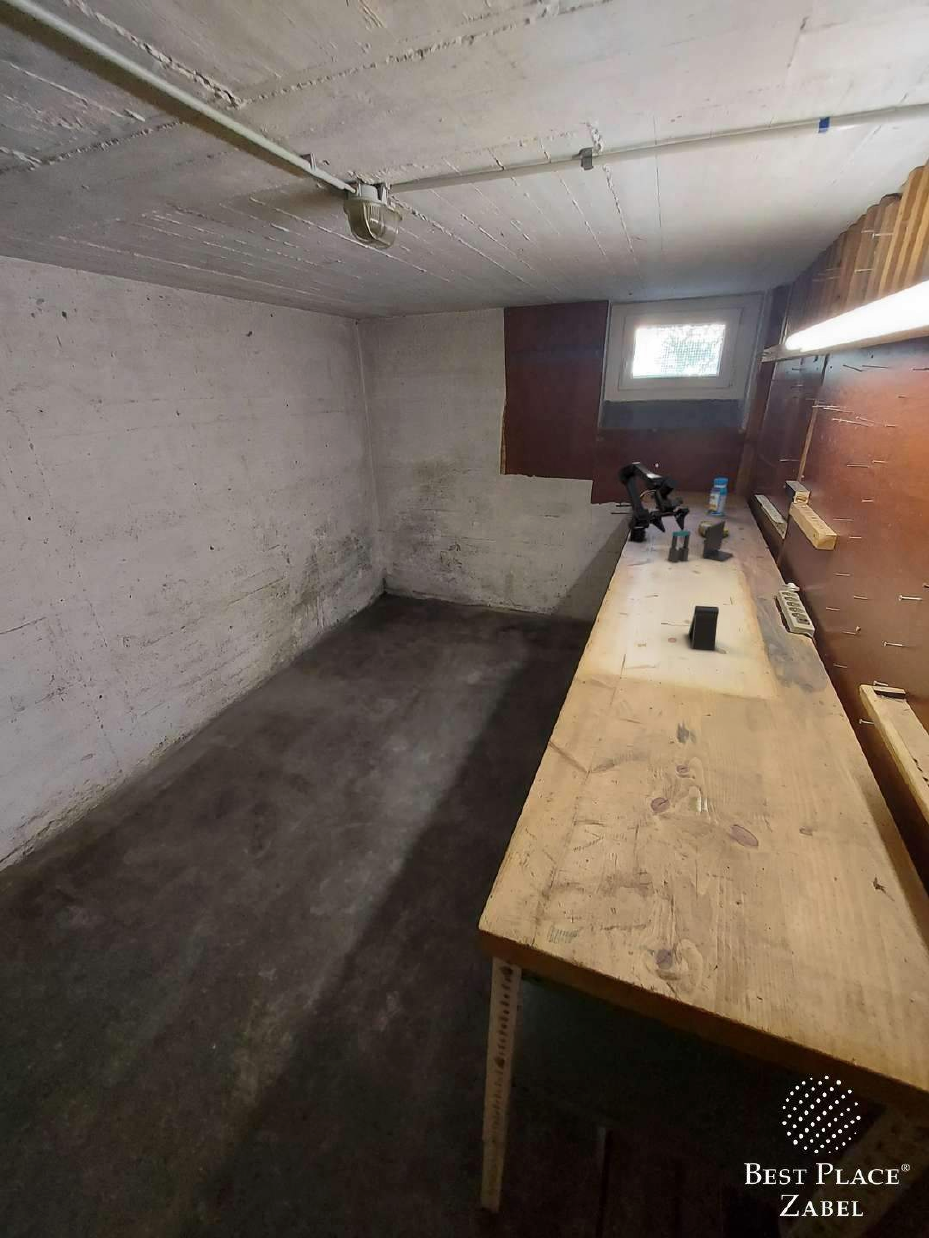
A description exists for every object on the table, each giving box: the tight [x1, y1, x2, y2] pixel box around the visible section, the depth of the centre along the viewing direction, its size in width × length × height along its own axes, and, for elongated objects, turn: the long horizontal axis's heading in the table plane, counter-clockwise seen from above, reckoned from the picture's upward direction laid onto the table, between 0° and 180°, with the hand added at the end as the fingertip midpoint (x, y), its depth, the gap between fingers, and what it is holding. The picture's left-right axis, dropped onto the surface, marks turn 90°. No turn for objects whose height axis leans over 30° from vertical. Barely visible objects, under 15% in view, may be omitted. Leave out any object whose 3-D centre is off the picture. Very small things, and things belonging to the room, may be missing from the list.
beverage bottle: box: [707, 477, 729, 517], centre depth 276 cm, size 8×8×20 cm
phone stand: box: [687, 605, 720, 651], centre depth 145 cm, size 9×6×12 cm, turn 165°
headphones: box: [667, 529, 692, 563], centre depth 211 cm, size 4×7×13 cm, turn 103°
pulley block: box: [697, 520, 730, 543], centre depth 241 cm, size 14×6×30 cm
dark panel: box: [702, 520, 734, 562], centre depth 214 cm, size 13×14×14 cm
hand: (673, 531), depth 214 cm, fingers open, 9 cm apart
